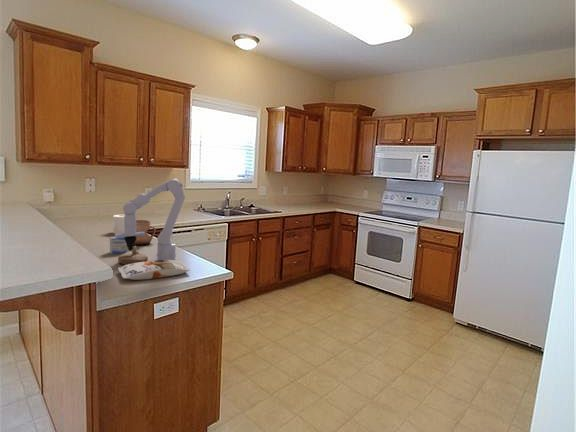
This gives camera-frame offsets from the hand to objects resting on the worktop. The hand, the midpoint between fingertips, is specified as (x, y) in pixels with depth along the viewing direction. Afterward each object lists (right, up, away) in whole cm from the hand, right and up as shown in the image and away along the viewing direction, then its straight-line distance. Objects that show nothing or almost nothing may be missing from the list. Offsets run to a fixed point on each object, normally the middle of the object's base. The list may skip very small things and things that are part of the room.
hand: (130, 250), depth 186 cm
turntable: (+3, -5, -4) cm, 7 cm away
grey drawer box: (+1, -4, +5) cm, 7 cm away
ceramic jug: (-9, +1, +35) cm, 36 cm away
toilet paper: (-33, +6, +60) cm, 69 cm away
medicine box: (-12, -3, +12) cm, 18 cm away
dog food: (+20, -10, -18) cm, 28 cm away
